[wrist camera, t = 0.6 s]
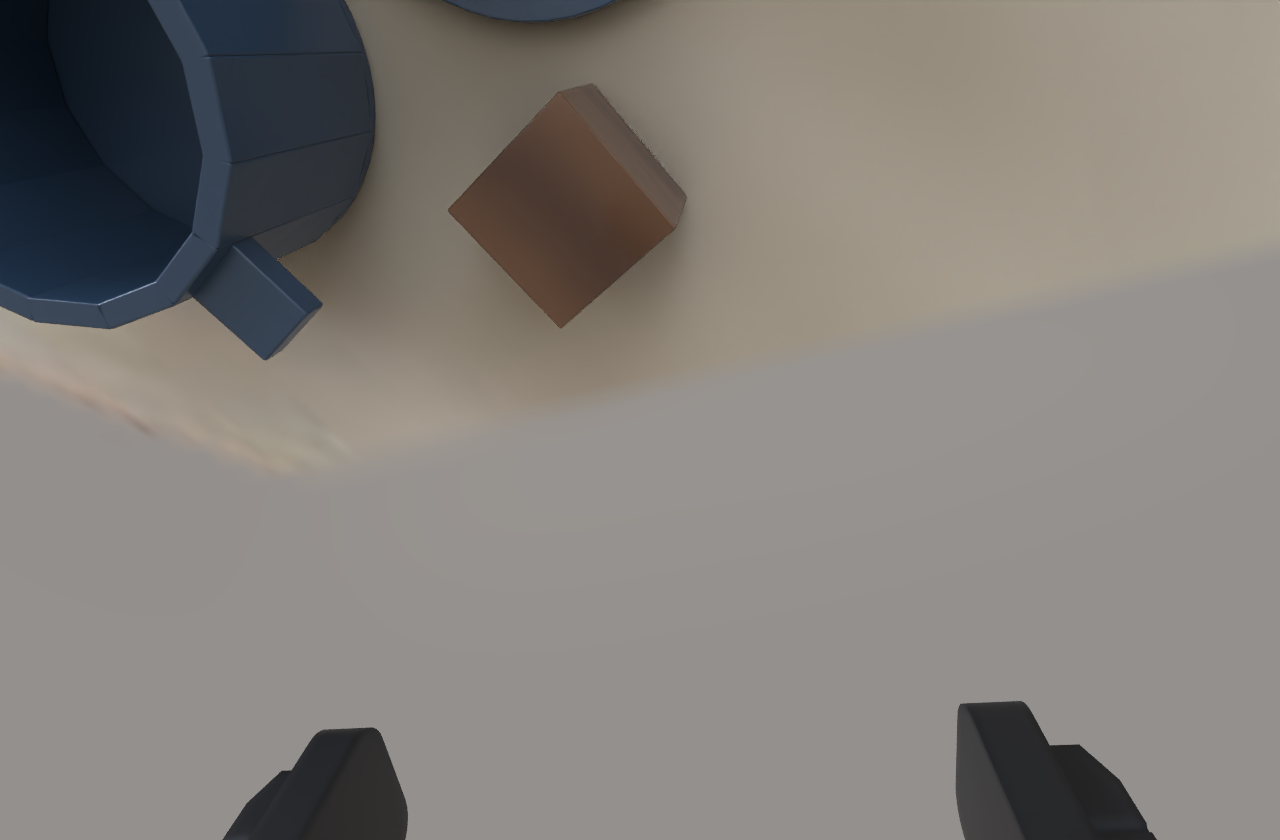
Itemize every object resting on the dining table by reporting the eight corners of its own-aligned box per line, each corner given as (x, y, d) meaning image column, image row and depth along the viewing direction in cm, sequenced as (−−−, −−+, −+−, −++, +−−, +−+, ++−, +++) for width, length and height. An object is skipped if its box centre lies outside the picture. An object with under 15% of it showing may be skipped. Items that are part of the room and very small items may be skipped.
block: (592, 82, 25) (558, 90, 20) (687, 196, 26) (676, 228, 21) (496, 183, 26) (446, 210, 22) (589, 284, 28) (560, 329, 23)
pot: (61, -326, 21) (-309, -526, 14) (500, 156, 26) (401, 202, 19) (-82, 7, 26) (-411, -8, 19) (308, 361, 31) (169, 461, 24)
